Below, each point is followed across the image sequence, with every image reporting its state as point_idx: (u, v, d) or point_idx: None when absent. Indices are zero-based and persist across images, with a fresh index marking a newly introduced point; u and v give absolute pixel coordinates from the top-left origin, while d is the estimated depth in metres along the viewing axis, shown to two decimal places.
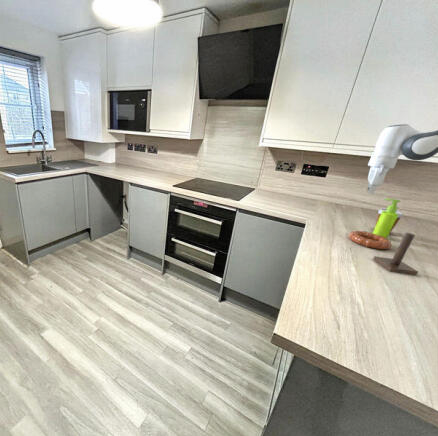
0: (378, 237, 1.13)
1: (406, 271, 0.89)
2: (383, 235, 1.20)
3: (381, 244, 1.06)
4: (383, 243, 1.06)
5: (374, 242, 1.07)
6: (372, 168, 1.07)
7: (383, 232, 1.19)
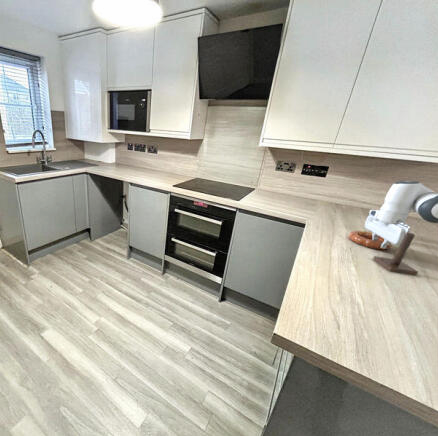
0: (378, 237, 1.13)
1: (406, 271, 0.89)
2: None
3: None
4: None
5: (374, 242, 1.07)
6: (385, 223, 1.02)
7: None
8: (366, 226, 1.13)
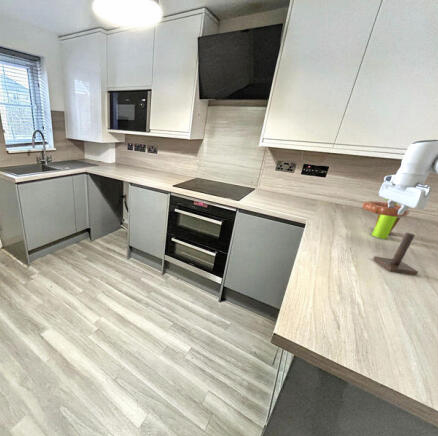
0: None
1: (406, 271, 0.89)
2: (383, 235, 1.20)
3: None
4: None
5: (390, 209, 1.01)
6: (402, 187, 0.96)
7: (383, 232, 1.19)
8: (381, 194, 1.07)
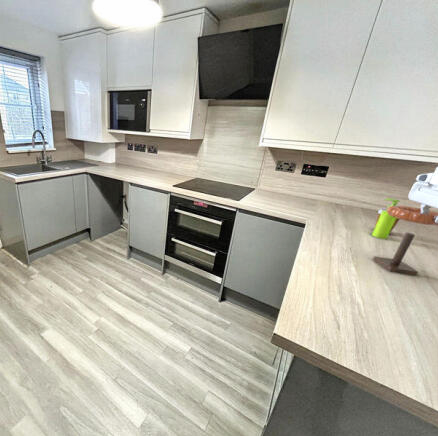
0: None
1: (406, 271, 0.89)
2: (383, 235, 1.20)
3: None
4: None
5: (425, 215, 0.81)
6: None
7: (383, 232, 1.19)
8: (411, 197, 0.88)
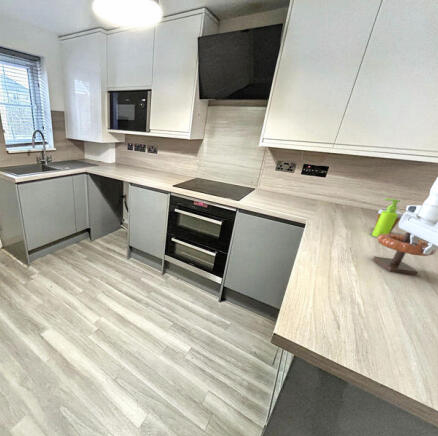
0: None
1: (406, 271, 0.89)
2: None
3: None
4: None
5: (413, 246, 0.83)
6: (430, 222, 0.79)
7: (383, 232, 1.19)
8: (401, 226, 0.90)
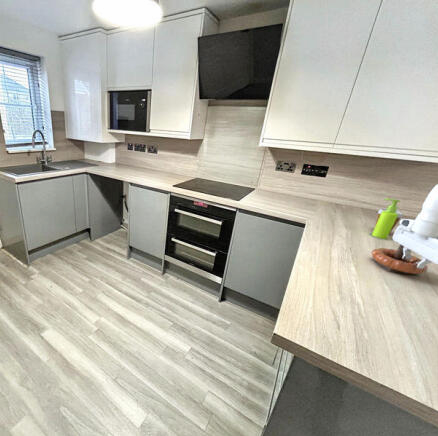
0: None
1: None
2: (383, 235, 1.20)
3: (415, 267, 0.85)
4: None
5: (406, 265, 0.85)
6: (423, 237, 0.81)
7: (383, 232, 1.19)
8: (395, 239, 0.92)
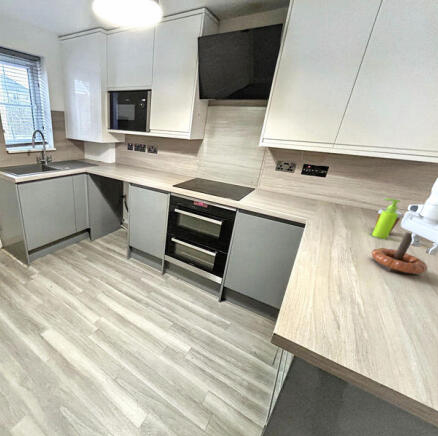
0: (409, 257, 0.92)
1: None
2: (383, 235, 1.20)
3: (415, 267, 0.85)
4: (417, 266, 0.85)
5: (406, 265, 0.85)
6: (433, 221, 0.78)
7: (383, 232, 1.19)
8: (403, 225, 0.89)
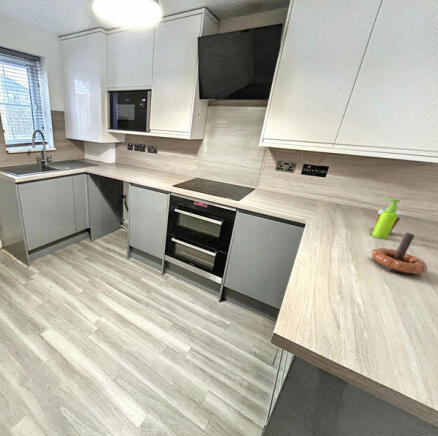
0: (409, 257, 0.92)
1: None
2: (383, 235, 1.20)
3: (415, 267, 0.85)
4: (417, 266, 0.85)
5: (406, 265, 0.85)
6: None
7: (383, 232, 1.19)
8: None
